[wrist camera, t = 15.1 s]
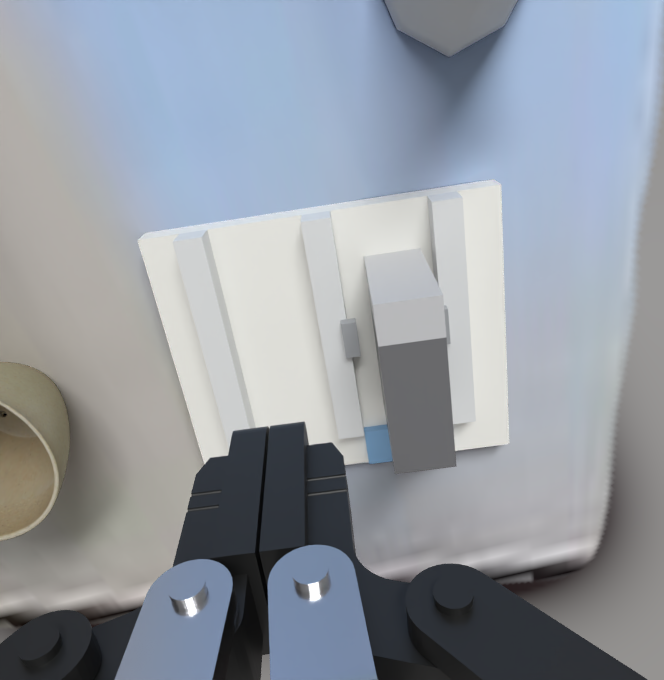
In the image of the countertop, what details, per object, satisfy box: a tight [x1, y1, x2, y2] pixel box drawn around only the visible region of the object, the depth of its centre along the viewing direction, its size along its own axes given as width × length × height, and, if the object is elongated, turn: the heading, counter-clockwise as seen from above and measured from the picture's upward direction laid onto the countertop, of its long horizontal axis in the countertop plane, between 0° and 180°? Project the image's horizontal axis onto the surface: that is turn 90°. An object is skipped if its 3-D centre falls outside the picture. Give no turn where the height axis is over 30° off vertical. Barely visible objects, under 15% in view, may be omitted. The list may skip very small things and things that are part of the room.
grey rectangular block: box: [364, 248, 456, 474], centre depth 30 cm, size 3×9×7 cm, turn 8°
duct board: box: [138, 179, 509, 465], centre depth 34 cm, size 19×16×4 cm
